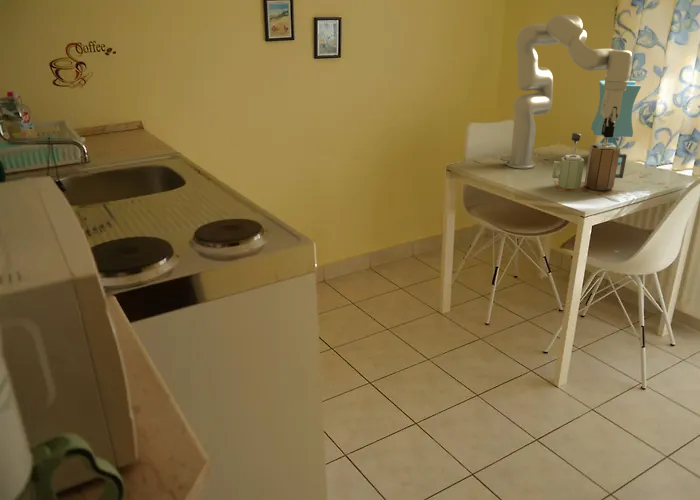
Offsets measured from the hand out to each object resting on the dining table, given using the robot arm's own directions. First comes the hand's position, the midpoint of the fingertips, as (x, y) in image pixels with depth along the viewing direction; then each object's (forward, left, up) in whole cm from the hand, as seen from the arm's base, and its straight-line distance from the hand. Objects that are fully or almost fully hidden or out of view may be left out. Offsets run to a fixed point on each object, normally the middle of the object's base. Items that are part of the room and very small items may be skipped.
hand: (607, 135), depth 217 cm
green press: (-12, 0, -21) cm, 24 cm away
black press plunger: (0, 0, -16) cm, 16 cm away
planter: (+13, +50, -22) cm, 56 cm away
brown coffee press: (+2, 0, -21) cm, 21 cm away
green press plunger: (-11, 0, -13) cm, 17 cm away
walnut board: (-5, 0, -22) cm, 22 cm away
